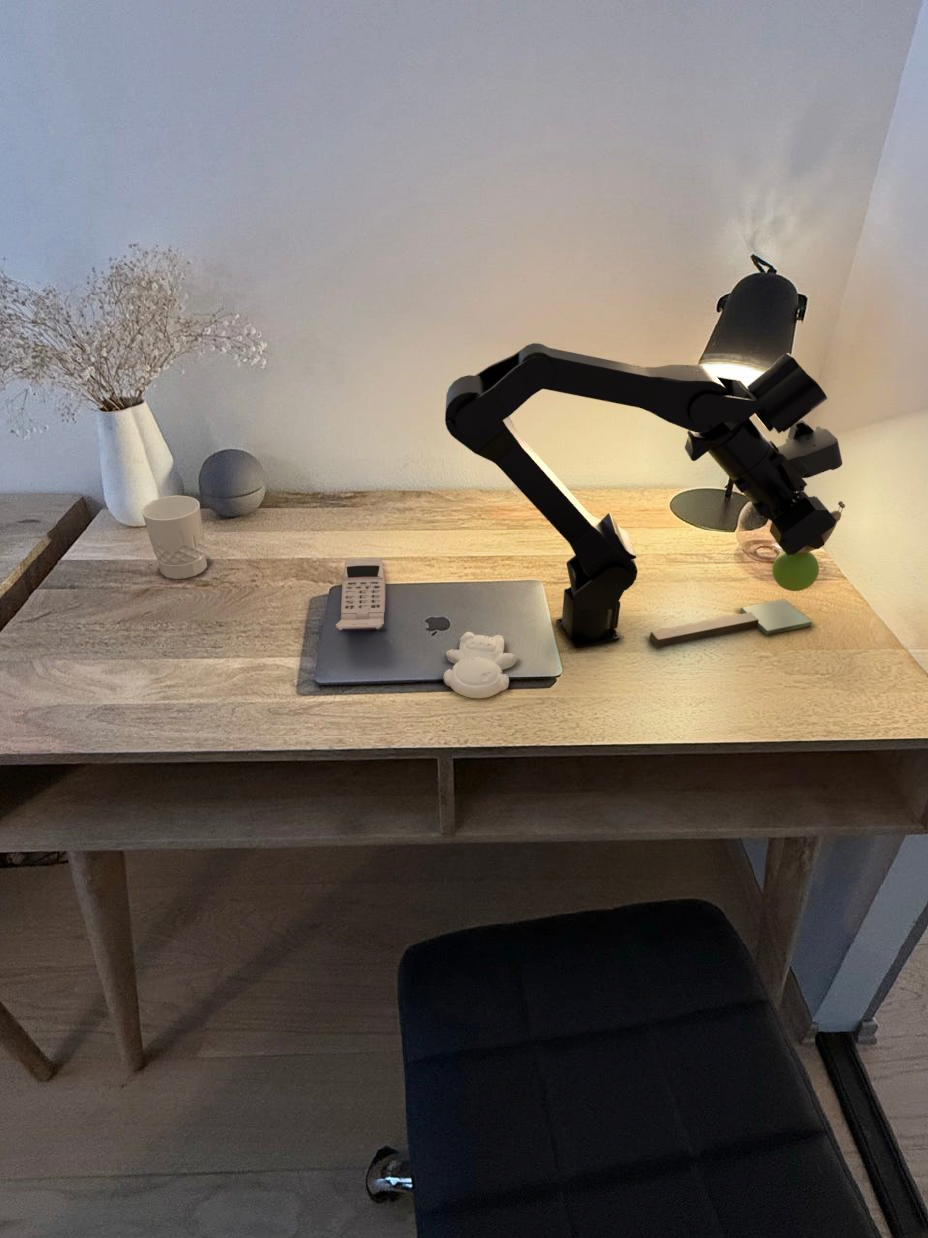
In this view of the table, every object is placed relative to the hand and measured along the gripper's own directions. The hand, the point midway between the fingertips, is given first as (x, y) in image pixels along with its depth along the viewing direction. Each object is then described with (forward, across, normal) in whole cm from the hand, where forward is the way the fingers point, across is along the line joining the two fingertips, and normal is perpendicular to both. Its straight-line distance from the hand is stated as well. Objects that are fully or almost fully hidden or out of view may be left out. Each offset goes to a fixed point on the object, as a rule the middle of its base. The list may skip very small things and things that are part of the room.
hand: (818, 542), depth 101 cm
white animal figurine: (-19, -8, +39) cm, 44 cm away
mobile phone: (-30, +5, +50) cm, 59 cm away
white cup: (-50, +17, +70) cm, 88 cm away
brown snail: (+4, 0, +6) cm, 7 cm away
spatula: (+4, +1, +16) cm, 16 cm away
